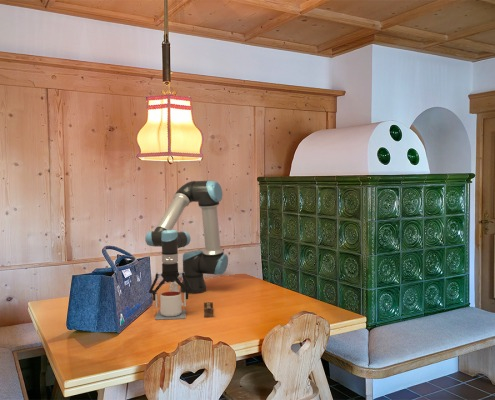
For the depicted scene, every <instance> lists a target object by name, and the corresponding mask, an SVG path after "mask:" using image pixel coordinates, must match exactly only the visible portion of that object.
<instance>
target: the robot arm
mask: <svg viewBox="0 0 495 400" xmlns="http://www.w3.org/2000/svg"><path fill="white" fill-rule="evenodd" d="M222 200H223V190H222V186H221V184H220V183H219V182H218V181H215V180H191V181H188V182H187V183H184V184H182V186H181V187H180V188H179V189H178V190H176V192H175V194H174V195H173V199H172V201H171V203H170V204H169V206H168V208H167V209H166V211H165V213H164V214H163V216H162V217H161V219H160V221H159V222H158V224H157V226H156V227H155V229H154V230H152V231H150V230H149V231H148V232H146V234H145V239H144V240H145V243H146V245H148V246H149V247H161V262H162V263H161V270H162V272H161V273H160V272H156V273H155V278H154V280H153V282H152V284H151V285H150V288H149V290H148V293H150V294H152V300H153V301H154V303H155V309H157V308H158V306H159V305H158V304H159V303H158V293H157V292H158V291H159V290H160V288H161V287H162V286H163V285H164V283H171V282H175V281H176V283H178V284H179V285H178V284H177V285H178V287H179V288H180V289H179V292H180V293H183V301H184V302H183V304H184V305H183V306H184V308H185V307H187V300H188V299H189V294H201V293H205V292H207V284H206V282H205V279H204V274H205V275H216V276H217V275H223V274H224V273H225V272H226V271H227V268H228V264H229V257H228V255H227V254H225V253H224V249H223V248H222V247H221V243H220V242H221V240H220V238H221V237H220V227H219V217H218V216H219V215H218V206H219V205H220V202H221V201H222ZM196 202H197V204H198V207H199V208H200V209H201V215H202V227H203V228H202V229H203V236H204V239H203V240H204V247H205V249H204V250H191V251H187V252H184V253H183V254H182V271H181V272H179V263H178V261H179V254H178V253H179V252H178V251H179V250H178V249H179V248H184V247H187V246H188V245H189V244H190V242H191V236H190V234H189V232H187V231H178V230H176V229H173V228H174V227H175V226H176V224H177V221H178V220H179V218H180V217H181V215H182V213H183V211H184V210H185V208H186V207H188V206H189V205H190V204H191V203H196ZM179 276H180V277H181V278H182V281H180V280H181V279H179ZM161 277H162V280H161V281H160V282H159V284H158V285H157V286H156V284H157V281H158V279H159V278H161ZM155 286H156V287H155ZM153 289H154V290H153Z"/></svg>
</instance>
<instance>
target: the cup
mask: <svg viewBox="0 0 495 400" xmlns="http://www.w3.org/2000/svg"><path fill="white" fill-rule="evenodd" d="M159 298H160V299H159V303H160V308H159V309H160V311H161V314H162V315H163V316H166V317H173V316H177V315H180V314H181V312H182V310H183V309H182V307H183V306H182V304H181V301H182V292H181V291H178V292H174V291H172V292H170V291H165V292H161V293H160V294H159Z"/></svg>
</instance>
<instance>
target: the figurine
mask: <svg viewBox="0 0 495 400" xmlns="http://www.w3.org/2000/svg"><path fill="white" fill-rule="evenodd" d="M168 288H169V292H172V291H174V292H180V289H179V284H178V283H176V281H175V282H170V285H169V287H168ZM181 304H182V307H183V306H184V302H183V301H182V300H181Z"/></svg>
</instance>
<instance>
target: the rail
mask: <svg viewBox="0 0 495 400" xmlns="http://www.w3.org/2000/svg"><path fill="white" fill-rule="evenodd" d="M214 310H215V309H214V302H211V301H210V302H209V301H208V302H207V301H206V302H203V316H204V318H214V315H215V314H214Z"/></svg>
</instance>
